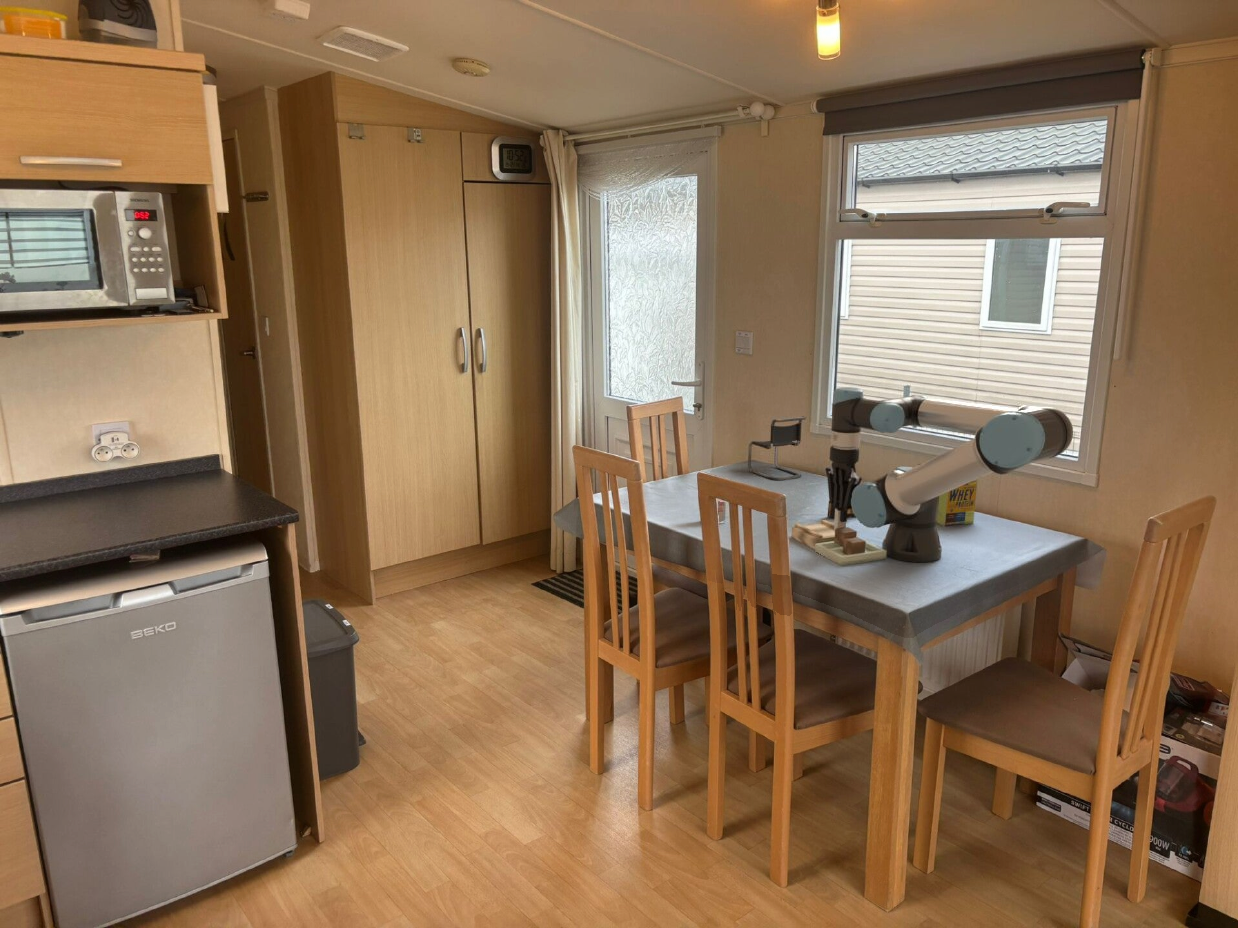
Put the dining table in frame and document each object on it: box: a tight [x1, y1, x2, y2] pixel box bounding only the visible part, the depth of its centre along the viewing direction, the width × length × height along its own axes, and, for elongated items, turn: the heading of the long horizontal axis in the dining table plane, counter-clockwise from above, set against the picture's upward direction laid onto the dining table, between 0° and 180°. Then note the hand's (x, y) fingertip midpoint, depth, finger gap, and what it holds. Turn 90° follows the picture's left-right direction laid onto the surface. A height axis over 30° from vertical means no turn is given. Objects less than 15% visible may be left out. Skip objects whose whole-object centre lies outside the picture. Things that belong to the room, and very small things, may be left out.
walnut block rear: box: [834, 526, 858, 547], centre depth 242 cm, size 4×4×4 cm
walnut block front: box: [843, 536, 867, 555], centre depth 239 cm, size 4×4×4 cm
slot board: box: [790, 519, 835, 550], centre depth 252 cm, size 12×12×4 cm
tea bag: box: [718, 501, 726, 522], centre depth 269 cm, size 4×7×10 cm, turn 104°
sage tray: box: [814, 539, 887, 566], centre depth 241 cm, size 12×14×2 cm
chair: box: [747, 415, 807, 481], centre depth 325 cm, size 13×17×22 cm
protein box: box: [916, 463, 979, 527], centre depth 273 cm, size 10×15×16 cm
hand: (839, 532), depth 244 cm, fingers closed
